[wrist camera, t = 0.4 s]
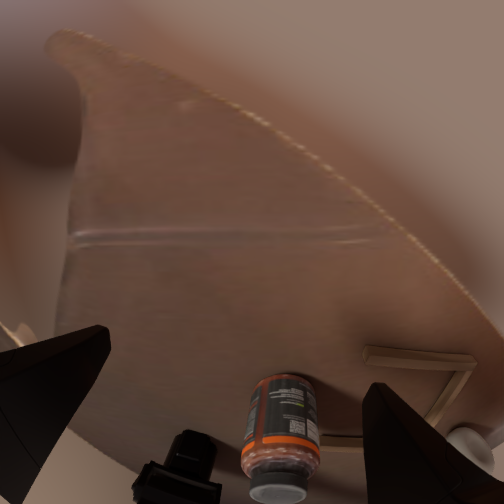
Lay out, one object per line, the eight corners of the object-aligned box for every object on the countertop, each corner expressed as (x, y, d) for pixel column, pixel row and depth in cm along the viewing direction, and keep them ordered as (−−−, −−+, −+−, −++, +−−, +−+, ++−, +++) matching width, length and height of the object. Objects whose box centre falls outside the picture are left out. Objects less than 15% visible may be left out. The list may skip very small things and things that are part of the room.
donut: (482, 425, 24) (505, 473, 15) (466, 440, 26) (485, 489, 16) (448, 416, 24) (473, 476, 15) (429, 434, 25) (449, 494, 16)
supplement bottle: (258, 414, 26) (242, 509, 15) (247, 373, 25) (223, 478, 14) (317, 410, 25) (320, 507, 14) (314, 367, 24) (320, 476, 13)
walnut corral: (411, 441, 26) (414, 450, 24) (316, 440, 27) (317, 450, 25) (471, 354, 21) (477, 363, 20) (365, 344, 22) (369, 355, 21)
